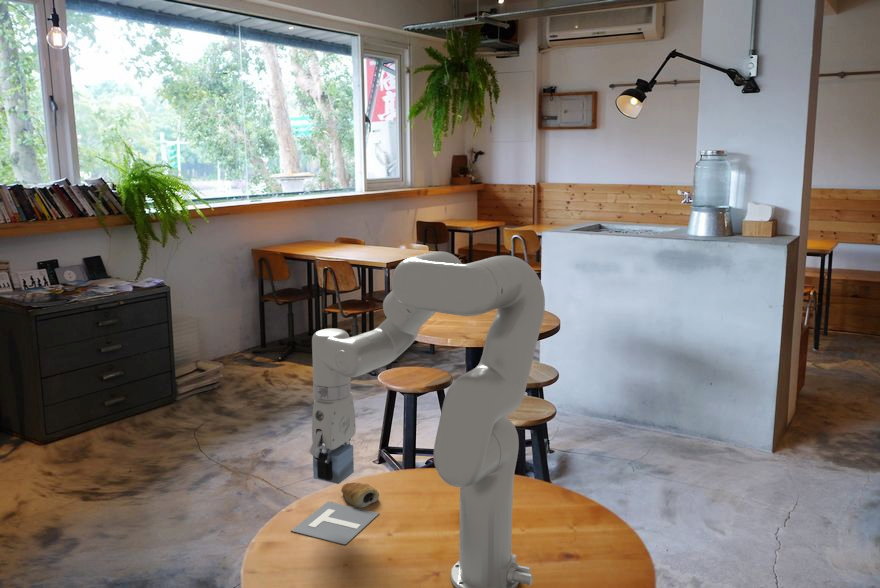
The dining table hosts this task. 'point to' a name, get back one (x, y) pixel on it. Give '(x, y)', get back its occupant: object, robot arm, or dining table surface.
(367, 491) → the pastry
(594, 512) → the dining table surface
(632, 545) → the dining table surface
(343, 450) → the slate blue cube
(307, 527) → the board
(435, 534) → the dining table surface
